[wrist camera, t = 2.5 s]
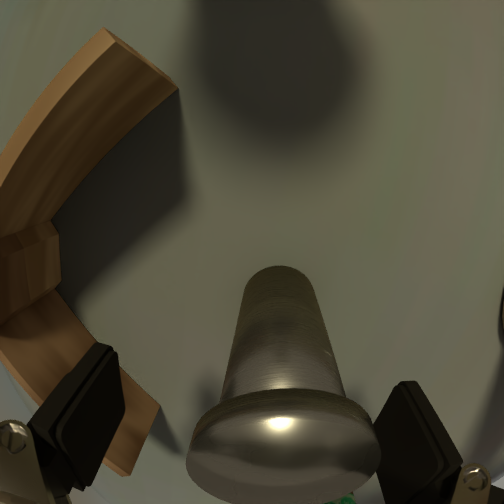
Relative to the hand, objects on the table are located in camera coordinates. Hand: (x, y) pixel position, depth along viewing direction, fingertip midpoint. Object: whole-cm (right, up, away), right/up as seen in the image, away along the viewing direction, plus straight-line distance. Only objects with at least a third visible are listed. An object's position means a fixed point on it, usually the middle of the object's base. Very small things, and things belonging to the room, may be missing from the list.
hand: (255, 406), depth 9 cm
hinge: (-9, +4, +8) cm, 12 cm away
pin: (+1, +2, +8) cm, 8 cm away
